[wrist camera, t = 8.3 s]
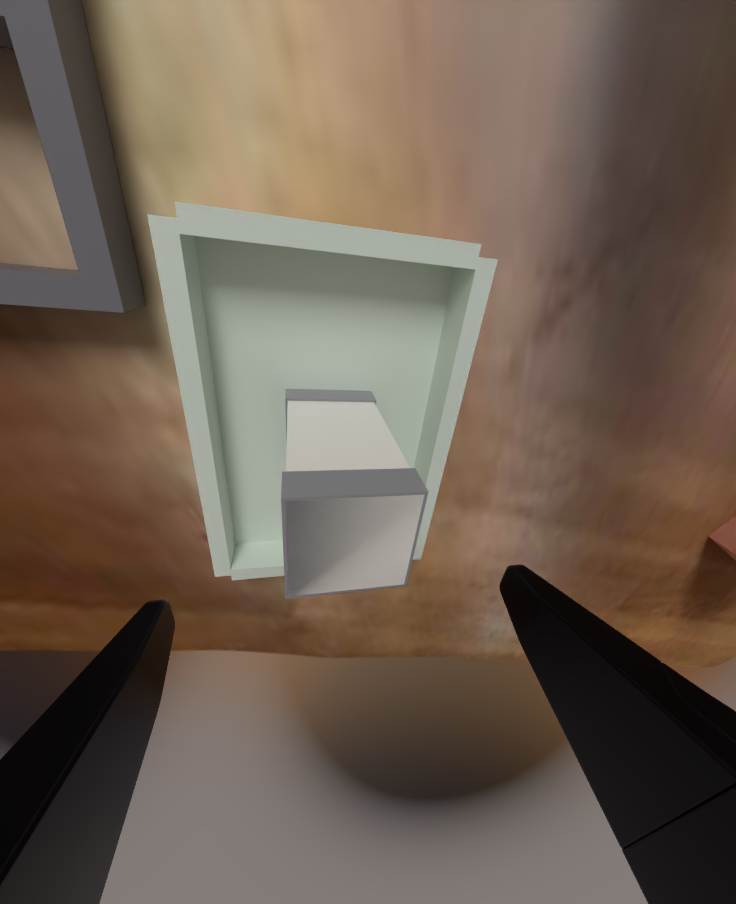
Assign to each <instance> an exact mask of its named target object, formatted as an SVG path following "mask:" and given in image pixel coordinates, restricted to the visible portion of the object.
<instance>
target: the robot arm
mask: <svg viewBox="0 0 736 904" xmlns="http://www.w3.org/2000/svg"><path fill="white" fill-rule="evenodd" d="M500 592H501V595H502V597H503V600H504V603H505V605H506V608H507V610H508V613H509V615H510V618H511V621H512V623H513V626H514V628H515V631H516V634H517V636H518V639H519V641H520V643H521V646H522V648H523V650H524V652H525V654H526V656H527V658H528V660H529V662H530V664H531V666H532V668H533V670H534V672H535V674H536V676H537V678H538V680H539V683H540V685H541V687H542V689H543V691H544V693H545V695H546V697H547V699H548V701H549V703H550V705H551V707H552V709H553V711H554V713H555V715H556V717H557V719H558V721H559V723H560V725H561V727H562V729H563V731H564V733H565V735H566V737H567V739H568V741H569V743H570V745H571V747H572V749H573V751H574V753H575V756H576V758H577V759H578V762H579V764H580V766H581V767H582V770H583V772H584V774H585V775H586V778H587V780H588V782H589V784H590V786H591V788H592V790H593V792H594V794H595V796H596V798H597V800H598V802H599V804H600V806H601V808H602V810H603V812H604V814H605V816H606V818H607V820H608V822H609V824H610V826H611V828H612V831H613V832H614V835H615V837H616V839H617V841H618V843H619V845H620V847H621V848H622V851H623V853H624V855H625V857H626V859H627V861H628V863H629V865H630V867H631V870H632V872H633V874H634V876H635V878H636V880H637V882H638V884H639V886H640V888H641V890H642V892H643V894H644V896H645V898H646V900H647V902H648V904H736V712H735V711H734V710H733V709H731V708H730V707H728V706H727V705H725V704H723V703H722V702H720V701H719V700H717V699H716V698H714V697H712V696H711V695H710V694H708V693H706V692H705V691H704V690H702V689H701V688H699V687H698V686H696V685H695V684H693V683H692V682H690V681H689V680H687V679H686V678H684V677H683V676H682V675H680V674H679V673H677V672H676V671H674V670H673V669H671V668H670V667H669V666H667V665H666V664H664V663H661V661H660V660H658V659H657V658H656V657H654V656H653V655H651V654H650V653H648V652H647V651H646V650H644V649H643V648H641V647H640V646H638V645H637V644H636V643H634V642H633V641H631V640H630V639H628V638H627V637H626V636H624V635H623V634H621V633H620V632H618V631H617V630H616V629H614V628H613V627H611V626H610V625H608V624H607V623H606V622H604V621H603V620H601V619H600V618H598V617H597V616H596V615H594V614H593V613H591V612H590V611H588V610H587V609H586V608H584V607H583V606H581V605H580V604H578V603H577V602H575V601H574V600H573V599H571V598H570V597H568V596H567V595H565V594H564V593H563V592H561V591H560V590H558V589H557V588H555V587H554V586H553V585H551V584H550V583H548V582H547V581H545V580H544V579H543V578H541V577H540V576H538V575H537V574H535V573H534V572H533V571H531V570H530V569H528V568H527V567H525V566H524V565H510V566H508V567H507V569H506V571H505V573H504V575H503V578H502V580H501V582H500ZM174 630H175V620H174V616H173V613H172V610H171V607H170V603H169V601H168V600H165V599H163V600H153V601H149V602H147V603H146V604H144V605H143V607H142V608H141V609H140V610H139V611H138V612H137V613H136V614H135V615H134V616H133V617H132V618H131V619H130V621H129V622H128V623H127V624H126V625H125V626H124V627H123V628H122V629H121V630H120V631H119V632H118V633H117V635H116V636H115V637H114V638H113V639H112V640H111V641H110V642H109V643H108V644H107V645H106V646H105V647H104V649H103V650H102V651H101V652H100V653H99V654H98V655H97V656H96V657H95V658H94V659H93V660H92V662H91V663H90V664H89V665H88V666H87V667H86V668H85V669H84V670H83V671H82V672H81V673H80V674H79V675H78V677H77V678H76V679H75V680H74V681H73V682H72V683H71V684H70V685H69V686H68V687H67V688H66V690H65V691H64V692H63V693H62V694H61V695H60V696H59V697H58V698H57V699H56V700H55V702H54V703H53V704H52V705H51V706H50V707H49V708H48V709H47V710H46V711H45V712H44V714H42V715H41V717H40V718H39V719H38V720H37V721H36V722H35V723H34V724H33V725H32V726H31V727H30V728H29V729H28V731H27V732H26V733H25V734H24V735H23V736H22V737H21V738H20V739H19V740H18V741H17V743H16V744H14V746H13V747H12V748H11V749H10V750H9V751H8V752H7V753H6V754H5V755H4V756H3V757H2V758H1V760H0V904H99V903H100V899H101V896H102V893H103V890H104V887H105V883H106V880H107V877H108V873H109V870H110V867H111V863H112V860H113V857H114V854H115V850H116V847H117V844H118V840H119V837H120V834H121V831H122V827H123V824H124V821H125V817H126V814H127V811H128V807H129V804H130V801H131V798H132V794H133V791H134V788H135V785H136V781H137V778H138V775H139V771H140V768H141V765H142V761H143V758H144V755H145V751H146V748H147V745H148V742H149V738H150V735H151V732H152V729H153V725H154V721H155V719H156V715H157V712H158V708H159V705H160V701H161V696H162V691H163V686H164V681H165V676H166V671H167V666H168V661H169V656H170V651H171V645H172V640H173V635H174Z"/></svg>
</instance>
